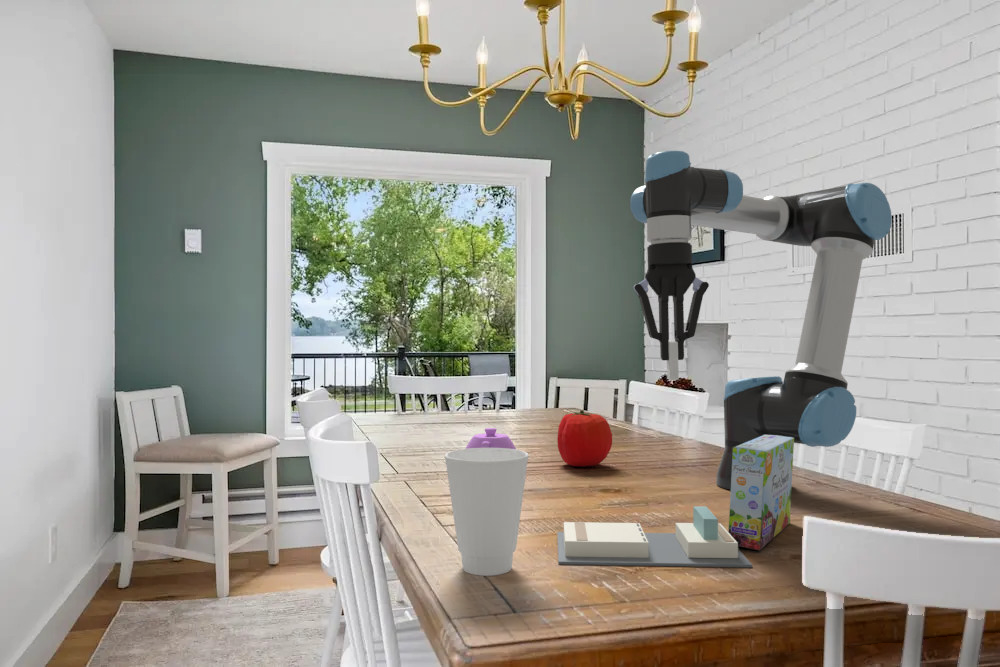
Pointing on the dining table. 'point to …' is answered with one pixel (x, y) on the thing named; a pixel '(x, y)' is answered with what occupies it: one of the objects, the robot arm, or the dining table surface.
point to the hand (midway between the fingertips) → (672, 379)
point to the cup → (486, 505)
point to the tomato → (584, 439)
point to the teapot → (490, 440)
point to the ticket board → (629, 547)
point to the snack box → (760, 490)
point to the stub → (706, 536)
